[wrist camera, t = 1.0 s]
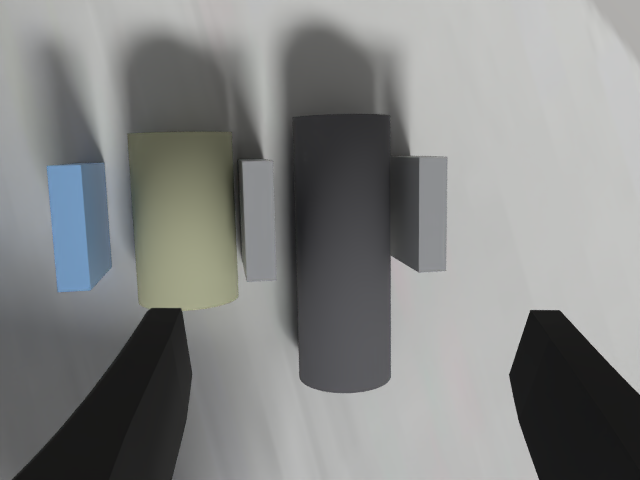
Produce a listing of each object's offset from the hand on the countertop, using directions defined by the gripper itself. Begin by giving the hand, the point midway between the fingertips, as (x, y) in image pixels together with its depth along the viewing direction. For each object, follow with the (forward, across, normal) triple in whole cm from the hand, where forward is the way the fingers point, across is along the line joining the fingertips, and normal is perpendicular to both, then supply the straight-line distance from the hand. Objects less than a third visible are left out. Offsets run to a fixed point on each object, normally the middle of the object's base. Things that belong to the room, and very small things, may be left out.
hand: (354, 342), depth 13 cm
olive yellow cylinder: (+11, +6, +4) cm, 13 cm away
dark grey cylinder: (+11, 0, +6) cm, 12 cm away
